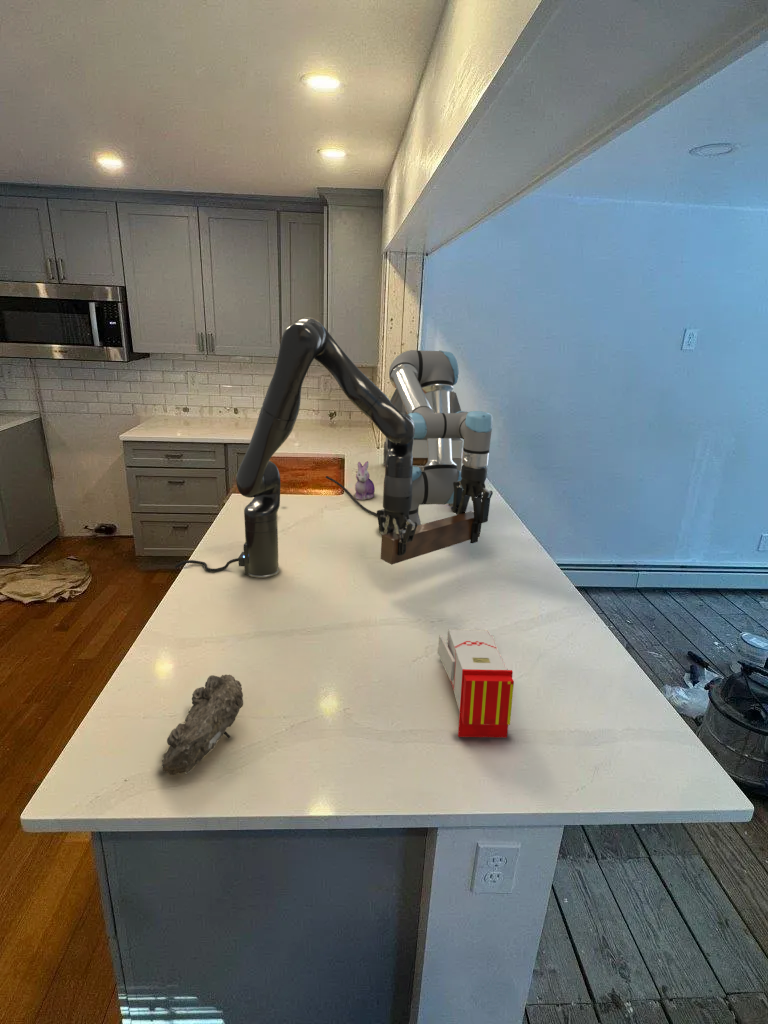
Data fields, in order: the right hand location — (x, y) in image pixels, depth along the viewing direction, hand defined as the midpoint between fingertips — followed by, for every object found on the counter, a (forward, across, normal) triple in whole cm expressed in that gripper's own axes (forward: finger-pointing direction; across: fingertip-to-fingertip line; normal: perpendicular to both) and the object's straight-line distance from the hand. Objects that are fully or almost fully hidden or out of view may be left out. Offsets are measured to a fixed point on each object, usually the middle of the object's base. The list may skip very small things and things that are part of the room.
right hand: (467, 539), depth 173 cm
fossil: (+10, +21, -93) cm, 96 cm away
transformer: (+9, -85, +62) cm, 106 cm away
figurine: (+9, -71, +17) cm, 74 cm away
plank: (-1, 0, -15) cm, 15 cm away
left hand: (-4, 0, -30) cm, 30 cm away
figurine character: (+9, -41, +40) cm, 58 cm away
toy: (+10, +42, -45) cm, 62 cm away
